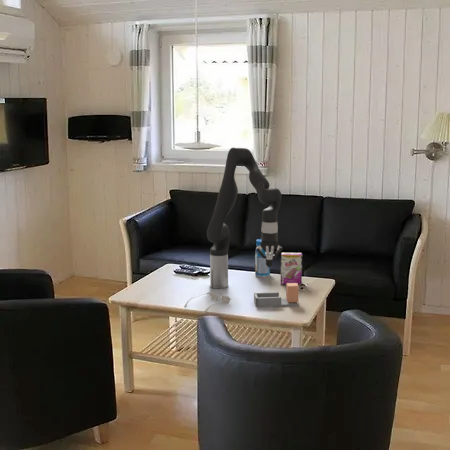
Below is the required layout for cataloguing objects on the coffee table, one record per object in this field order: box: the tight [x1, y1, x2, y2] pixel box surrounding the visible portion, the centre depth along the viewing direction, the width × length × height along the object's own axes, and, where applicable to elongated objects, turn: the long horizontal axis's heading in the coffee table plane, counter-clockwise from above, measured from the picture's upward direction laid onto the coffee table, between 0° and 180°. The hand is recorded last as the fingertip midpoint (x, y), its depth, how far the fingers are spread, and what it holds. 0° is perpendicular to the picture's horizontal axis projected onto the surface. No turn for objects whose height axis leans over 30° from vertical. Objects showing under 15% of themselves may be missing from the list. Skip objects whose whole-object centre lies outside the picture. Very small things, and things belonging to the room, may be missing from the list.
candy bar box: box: [280, 252, 303, 285], centre depth 353 cm, size 11×5×16 cm, turn 84°
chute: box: [253, 291, 299, 309], centre depth 321 cm, size 20×9×4 cm, turn 94°
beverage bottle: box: [254, 238, 271, 278], centre depth 369 cm, size 8×8×20 cm
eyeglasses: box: [183, 291, 232, 314], centre depth 320 cm, size 15×18×4 cm
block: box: [285, 283, 300, 303], centre depth 321 cm, size 5×5×8 cm
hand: (269, 266), depth 317 cm, fingers closed
